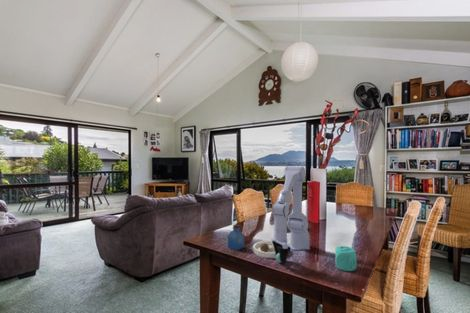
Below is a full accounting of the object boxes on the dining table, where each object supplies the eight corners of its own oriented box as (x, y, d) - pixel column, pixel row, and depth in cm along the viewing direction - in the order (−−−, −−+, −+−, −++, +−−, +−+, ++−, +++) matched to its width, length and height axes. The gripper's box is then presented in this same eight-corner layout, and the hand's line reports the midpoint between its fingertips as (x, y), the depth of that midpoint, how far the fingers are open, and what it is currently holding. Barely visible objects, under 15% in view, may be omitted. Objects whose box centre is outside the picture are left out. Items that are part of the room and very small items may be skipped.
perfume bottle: (235, 244, 137) (235, 223, 138) (244, 247, 134) (244, 224, 134) (227, 247, 133) (227, 225, 133) (236, 250, 129) (236, 227, 129)
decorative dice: (335, 269, 106) (335, 251, 106) (335, 262, 114) (335, 245, 114) (356, 272, 103) (356, 253, 104) (354, 265, 111) (354, 247, 111)
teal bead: (283, 260, 116) (283, 251, 116) (286, 264, 111) (286, 254, 112) (274, 260, 115) (274, 251, 115) (277, 264, 111) (277, 255, 111)
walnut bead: (268, 252, 125) (267, 243, 127) (270, 251, 121) (268, 242, 123) (260, 253, 125) (259, 244, 127) (261, 252, 121) (260, 243, 123)
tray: (282, 244, 137) (282, 240, 137) (293, 257, 119) (293, 252, 119) (250, 245, 135) (250, 241, 135) (257, 259, 117) (257, 254, 117)
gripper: (268, 225, 120) (268, 253, 120) (276, 234, 106) (276, 266, 106) (282, 225, 121) (282, 252, 121) (292, 233, 107) (292, 265, 107)
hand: (280, 259), depth 113 cm, fingers open, 7 cm apart
